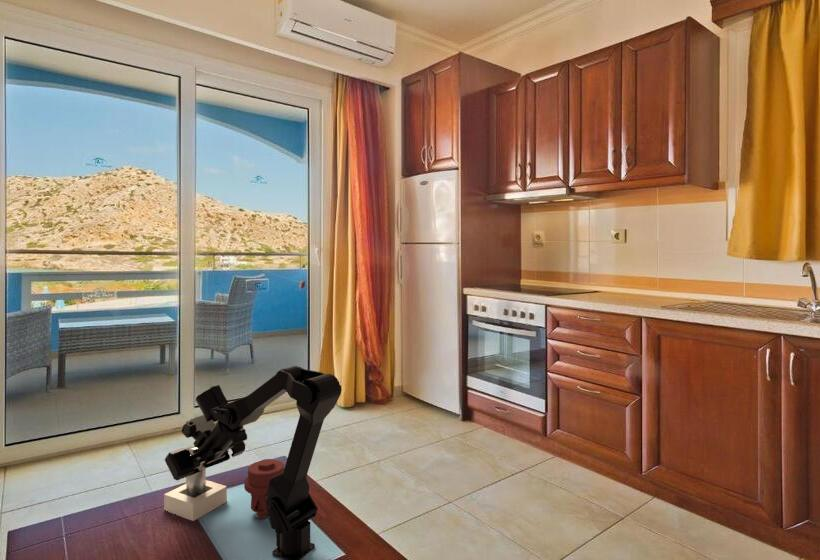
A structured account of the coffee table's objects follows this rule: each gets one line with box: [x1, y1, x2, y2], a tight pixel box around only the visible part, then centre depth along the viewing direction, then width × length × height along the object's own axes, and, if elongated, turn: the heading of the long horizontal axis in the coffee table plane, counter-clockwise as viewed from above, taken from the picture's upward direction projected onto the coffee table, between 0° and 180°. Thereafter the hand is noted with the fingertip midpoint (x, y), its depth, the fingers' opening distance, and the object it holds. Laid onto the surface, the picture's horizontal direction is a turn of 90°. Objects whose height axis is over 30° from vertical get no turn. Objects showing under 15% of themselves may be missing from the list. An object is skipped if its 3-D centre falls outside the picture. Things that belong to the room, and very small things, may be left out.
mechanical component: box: [243, 458, 285, 520], centre depth 117 cm, size 12×10×10 cm
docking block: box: [163, 479, 228, 522], centre depth 119 cm, size 10×10×4 cm
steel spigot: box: [185, 444, 207, 498], centre depth 119 cm, size 5×5×13 cm
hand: (192, 471), depth 120 cm, fingers closed on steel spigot, 4 cm apart
